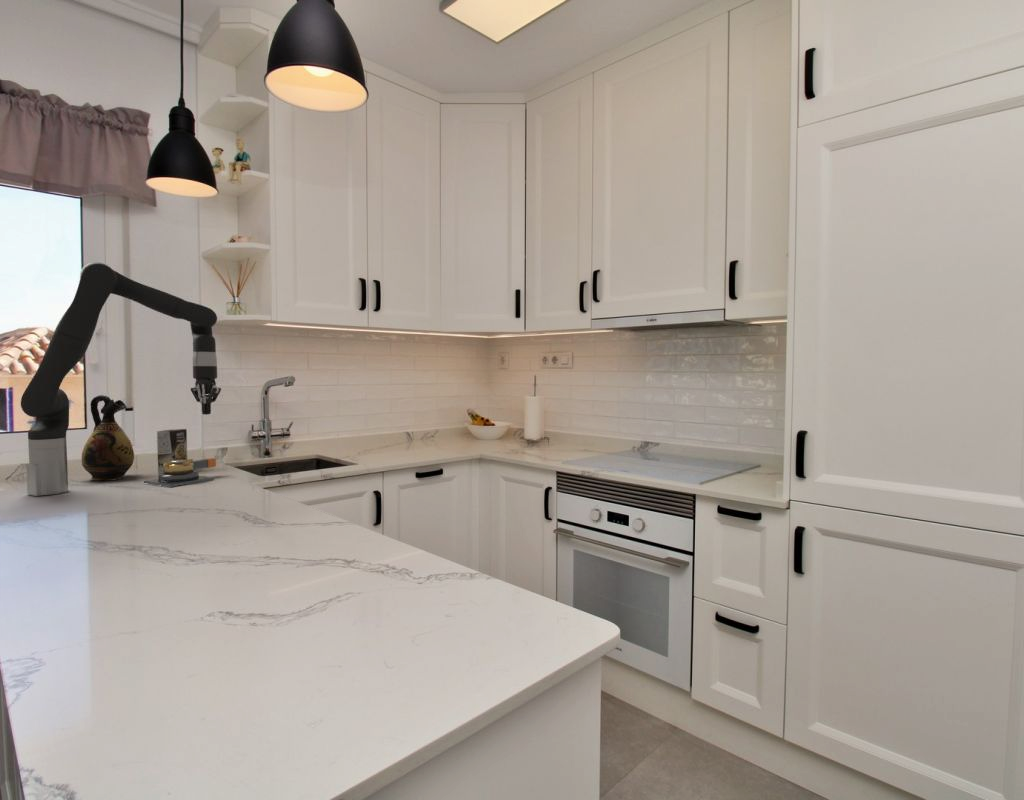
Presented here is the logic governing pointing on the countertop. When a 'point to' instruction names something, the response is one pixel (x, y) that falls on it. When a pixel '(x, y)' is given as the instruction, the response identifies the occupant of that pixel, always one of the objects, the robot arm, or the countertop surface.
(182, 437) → the coffee box
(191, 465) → the rotary lever handle
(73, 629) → the countertop surface
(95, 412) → the ceramic jug
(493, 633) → the countertop surface
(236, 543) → the countertop surface
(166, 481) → the housing
